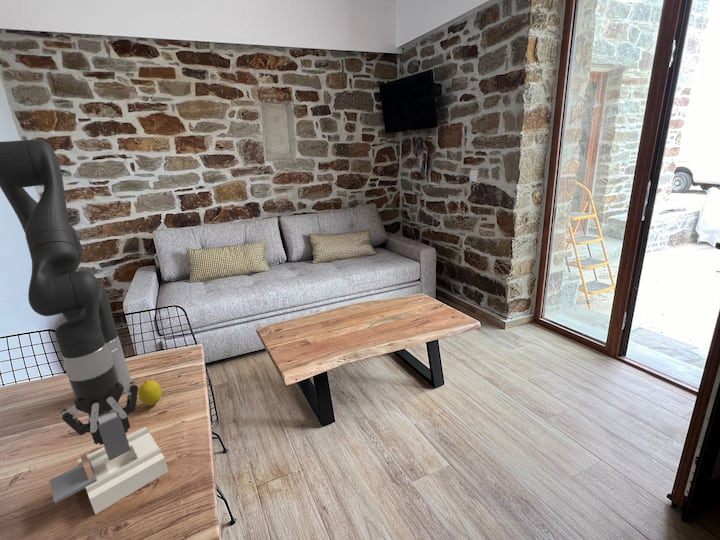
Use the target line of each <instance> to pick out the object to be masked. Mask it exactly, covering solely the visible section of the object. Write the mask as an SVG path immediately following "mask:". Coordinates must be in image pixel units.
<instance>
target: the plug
mask: <svg viewBox="0 0 720 540" xmlns="http://www.w3.org/2000/svg"><path fill="white" fill-rule="evenodd" d="M97 427H98V429H99V432H100V435H101V438H102V441H103V444H102V445H103V447H104V448H105V451H106V453H107V456H108V458H109V461H110V460H112V459H114V458H116V457H118V456H120V455H122V454H124V453H126V452H128V451H130V446H129V443H128V440H127V437H126V436H127V435H126V433H125V431H124V427H123V424H122V421H121V418H120V415H118V414H117V413H116V412H115V411H114V409H111V410H108V411H105V412H103V413H102V414H100V415H98V423H97Z"/></svg>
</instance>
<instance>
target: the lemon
mask: <svg viewBox="0 0 720 540" xmlns="http://www.w3.org/2000/svg"><path fill="white" fill-rule="evenodd" d="M162 392H163V391H162V388H161V386H160V384H159V383H158V382H157V381H155V380H151V379H150V380H146V381H144V382H143V383H142V384H140V386H139V387H138V398H139V400H140V402H141V403H142V404H143V405H146V406H155V404H158V402H159V401H160V399H161V397H162V394H163V393H162Z"/></svg>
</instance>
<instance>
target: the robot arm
mask: <svg viewBox="0 0 720 540" xmlns="http://www.w3.org/2000/svg"><path fill="white" fill-rule="evenodd" d="M63 180H64V179H63V174H62V169H61V166H60V163H59V159H58V158H57V155H56V153H55V150H54V149H53V147H52V146H51V144H50V143H49V142H47V141H46V140H43V139H23V140H7V141H0V189H1V191H2V193H3V194H4V196H5V197H6V199H7V200H8V203H9V205H10V207H12V209H13V212H15V214H16V217H17V219H18V221H19V222H20V223H19V224H20V225H21V228H22V229H23V231H24V234H25V240H26V243H27V247H28V250H29V254H30V255H29V256H30V259H31V275H30V281H29V286H28V294H27V297H28V304H29V305H30V308H31V310H33V311H34V312H35V313H36V314H38V315H40V316H43V317H51V316H56V315H60V314H62V315H63V317H64V319H65V320H66V321H65V322H63V323H61V324H60V325H58V326H57V327H56V329H55V331H54V332H55V333H54V334H55V338H56V341H57V345H58V347H59V350H60V352H61V355H62V359H63V366H64V368H65V371H66V376H67V378H68V380H69V383H70V386H71V389H72V393H73V395H74V398H75V400H74V405H72V406H70V407H69V408H65V409H62V410H61V412H60V415H61V419H62V420H63V422H65V423H66V424H67V425H68V426H69V427H70V428H71V429H73V430H74V432H76V433H77V435H78V434H79V436H83V435H86V434H87V433H90V434H91V437H92V439H93V442H94V444H95V445H98V444H99V446H102V445H103V441H102V438H101V435H100V432H99V429H98V427H97V423H98V415H100V414H102V413H103V412H105V411H108V410H111V409H114V411H115V412H116V413H117V414H118V415H120V418H121V421H122V424H123V427H124V431H125V434H126V433H129V429H131V423H130V421H129V418H128V416H129V414H131V413H133V412H135V411H136V409H137V408H136V407H137V402H138V400H137V399H138V395H139V386H138V384H136V382H135V381H132V378H131V374H130V371H129V367H128V365H127V361H126V358H125V353H124V351H123V350H124V349H123V347H122V343H121V341H120V340H121V339H120V337H119V334H118V330H117V327H116V324H115V320H114V317H113V313H112V309H111V304H110V299H109V295H108V292H107V289H106V288H105V287H104V286H103V285H100V283H99V280H98V278H97V277H96V276H95V275H94V274H93V273H91V272H90V271H87V270H78V268H79V267H80V264H81V262H82V260H83V255H84V248H83V246H82V244H81V242H80V239H79V236H78V234H77V230H75V229H76V228H74V226H73V225H71V224H70V222H69V218H68V217H69V216H68V209H67V199H66V193H65V186H64V181H63ZM39 186H43V191H42V194H41V197H40V198H39V200H38V202H37V201H36V200H35V199H34V198H33V197H32V196H31V195H30V194H29V193H28V191H26V189H25V188H31V187H39ZM124 393H125V394H126V395H127V398H126V405H125V406H124V407H123V406H122V405H121V404H120V402H119V401H120V399H121V396H122V395H123V394H124ZM78 411H80V412H84V414H87V423H83V422H82V421H81V420H79V419H78V418H77V417H78V413H77V412H78Z"/></svg>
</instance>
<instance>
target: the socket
mask: <svg viewBox="0 0 720 540" xmlns="http://www.w3.org/2000/svg"><path fill="white" fill-rule="evenodd" d="M126 437H127V440H128V443H129V446H130V451H128V452H126V453H124V454H122V455H120V456H118V457H116V458H114V459H112V460H110V461H109V458H108V456H107V453H106V451H105V448H104V446H103V447H101V448H99V449H97V450H96V451H93V452H91V453H89V454H86V455H87V458H88V460H90V462H91V465H92V468H93V471H94V473H95V476H96V479H97V481H96V482H94V483H92V484H90V485H88V486H86V487H85V490H86V493H87V495H88V499H89V501H90V504H91V507H92V509H93V510H92V511H93V513H94V515H97V514H98V513H100V512H101V511H104V510H106V509H107V508H109V507H110V506H112V505H114V504H115V503H117V502H119V501H121V500H122V499H124V498H126V497H127V496H129V495H131V494H133V493H134V492H136V491H138V490H139V489H141V488H143V487H145V486H146V485H148V484H150V483H151V482H153V481H156V480H157V479H159V477H163V476H164V475H165V474H167V473H168V472H169V468H168V463H167V462H166V461H167V460H166V457H165V456H164V453H162V449H161V447H159V445H158V444H157V443H156V441H155V439H154V438H153V436H152V435H151V433H150V430H149V428H148V427H146V426H144V427H142V428H140V429H138V430H136V431H134V432H132V433H130V434H128V435H126ZM77 464H78V465H77V466H79V465H81V464H83V463H82V460H81V458H79V459H77Z"/></svg>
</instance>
